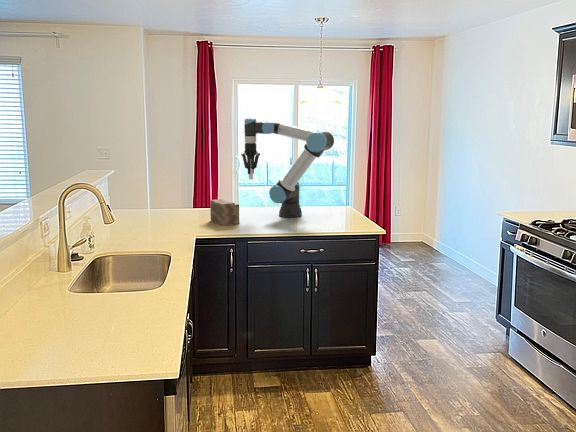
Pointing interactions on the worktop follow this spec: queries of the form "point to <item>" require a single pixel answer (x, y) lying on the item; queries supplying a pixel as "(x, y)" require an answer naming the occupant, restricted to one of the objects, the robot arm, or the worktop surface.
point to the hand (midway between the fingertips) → (250, 179)
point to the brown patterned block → (224, 212)
